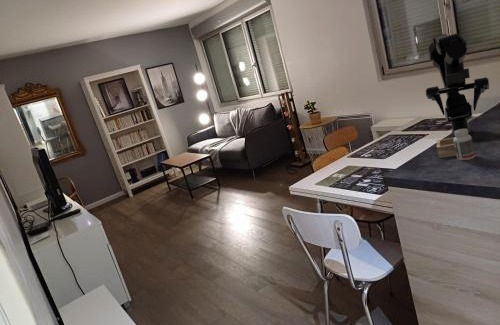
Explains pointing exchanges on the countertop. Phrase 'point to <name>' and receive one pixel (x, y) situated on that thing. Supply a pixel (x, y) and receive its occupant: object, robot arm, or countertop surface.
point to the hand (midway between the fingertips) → (458, 112)
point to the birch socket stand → (446, 147)
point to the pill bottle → (463, 145)
